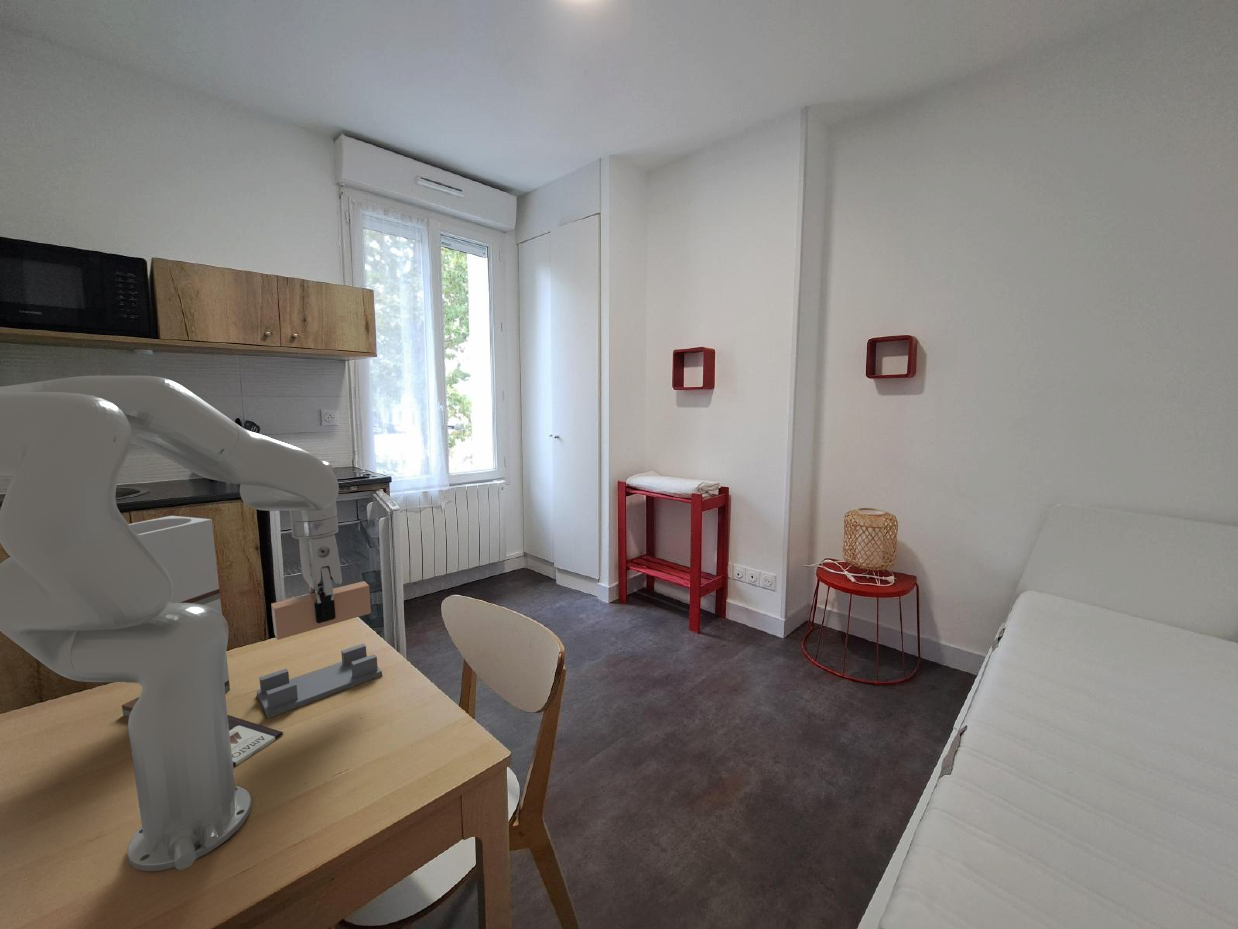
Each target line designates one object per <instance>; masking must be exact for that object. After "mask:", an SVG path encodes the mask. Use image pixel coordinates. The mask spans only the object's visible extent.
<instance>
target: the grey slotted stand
mask: <svg viewBox="0 0 1238 929" xmlns="http://www.w3.org/2000/svg"><path fill="white" fill-rule="evenodd" d="M366 645H367V644H366ZM366 645H365V643H361V644H358V645H355V646H352V647H349V648H346V649H343V650H341V651H340V653H341V661H340V662H337V663H334V664H331V665H328V666H326V667H322V668H319V669H317V670H314V671H311V672H308V673H304V674H302V675H298V676H295V677H293V678H290V674H289V670H288V668H284V669H281V670H277V671H275V672H272V673H269V674H266V675H265V674H264V675H263V676H259V677H258V678H259V687H260V689H257V690H256V696H257V698H258V700H259V703H260V705H261V707H262V709H263V711H264V713H265V716H266V717H267V719H270V718H273V717H276V716H279V715H280V714H283V713H285V712H288V711H291V710H294V709H297V708H300V707H303V706H304V705H307V704H310V703H313V702H316V701H318V700H321V699H323V698H326V697H329V696H331V695H335V694H336V692H337V693H339V692H342V691H345V690H348V689H350V688H353V687H354V686H357V685H360V684H363V683H365V682H368V681H371V680H374V679H377V678H380V677H381V676H383V670H381V668H380V667H378V666H379V665H378V657H377V655H376V654H375V653H373V654H371V655H367V646H366ZM373 678H374V679H373Z"/></svg>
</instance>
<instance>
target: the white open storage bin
mask: <svg viewBox="0 0 1238 929" xmlns="http://www.w3.org/2000/svg"><path fill="white" fill-rule="evenodd" d="M128 524H129V526H130V527H131V528H132V529H133V530H134V532H135V533H136V534H137V535H138V536H139V537H140V539H141V540H142V541H143V542H144V543H145V544H146V546H147V547H148V548H149V549H150V550H151V552H152V553H153V554H154V555H155V556H156V557H157V559H158V560H159V561H160V562H161V563H162V565H163V566H164V567H165V569H166V570H167V572H168V573H169V575H170V578H171V580H172V583H173V595H172V598H171V601H170V602H169V603H194V604H200V605H205V606H209V607H211V608H213V609H215V610H217V611H218V612H220V613H221V614H222V615H223V612H222V610H223V609H222V603H221V594H220V593H221V591H220V584H219V574H218V573H219V572H218V565H217V563H218V562H217V555H216V554H217V553H216V546H215V536H214V528H213V527H214V526H213V520H212V519H211V518H202V517H201V518H200V517H191V516H181V515H180V516H179V515H178V516H177V515H168V516H162V517H159V518H158V517H157V518H153V519H148V520H142V521H137V522H133V523H128ZM229 677H230V676H229V666H228V657H227V655H226V656H225V667H224V685H225V693H227V692H229V691H230V690H231V688H230V686H231V685H230V678H229ZM226 691H227V692H226ZM139 697H140V696H138V697H136V698H134V699H131V700H130V701H128V702H126V703H123V704H122V705H121V709H122V716H123V715H124V716H125V717H127V716H128V718H129V716H130V713H131V711H132V709H133V707H134V705H135V704H136V702H137V701H138V699H139ZM124 716H123V717H124Z"/></svg>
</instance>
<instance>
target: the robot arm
mask: <svg viewBox="0 0 1238 929" xmlns="http://www.w3.org/2000/svg"><path fill="white" fill-rule="evenodd" d="M132 445H135V446H139V447H143V448H145V449H147V450H150V451H151V452H153V453H155V454H157V455H159V456H161V457H163V458H165V459H166V460H170V461H171V462H174V463H175V464H177V465H179V466H181V467H183V468H185V469H187V470H188V471H190V472H192V473H195V474H196V475H198V476H199V477H203V478H205V479H207V480H208V479H209V480H213V481H217V482H223V483H229V484H236V485H240V486H239V495H240V497H241V500H242V501H243V502H244V504H245V505H247V506H248V507H250V508H252V509H255V510H258V511H267V512H268V511H269V512H270V511H273V512H277V511H280V512H283V511H289V518H290V527H291V528H290V529H291V538H293V539H294V540H295V539H296V540H298V543H299V557H300V566H301V567H300V569H301V574H302V576H303V577H302V578H303V579H304V581H305V582H306V583H307V584H308V587H309V588H308V589H309V591H308V592H309V594H313V593H315V596H316V603H314V604H315V614H316V622H317V623H322V622H326V621H329V620H333V619H335V618H336V615H335V604H334V596H333V589H334V587H333V582H334V583H335V585H341V584H342V583H343V578H342V577H343V576H342V570H341V562H340V554H339V548H338V544H337V540H336V539H337V538H336V534H337V533H338V532H339V520H338V512H337V511H338V508H337V500H336V499H337V498H338V496H339V491H340V490H339V487H340V485H339V482H338V479H337V477H336V474H335V473H334V468H333V465H332V463H330V462H328V461H325V460H321V459H319V457H317V456H315V455H314V454H312V453H310V452H308V451H306V450H304V449H302V448H300V447H297V446H294V445H292V444H288V443H287V442H286V443H285V442H282V441H280V440H277V439H274V438H273V437H272V438H271V437H269V436H267V435H263V434H261V433H257V432H253V431H250V430H248V429H246V428H244V427H243V426H240V425H239V424H238V423H236V422H235V421H233V419H230V418H229V417H228V416H226V415H225V414H224V413H222V412H221V411H220V410H218V409H216V408H215V407H214V406H212V405H210V404H209V403H208V402H207V401H205V400H203V399H202V398H201V397H199V396H198V395H196V394H195V393H193V392H192V391H191V390H189V389H188V388H186V387H185V386H183V385H182V384H180V383H178V382H176V381H173V380H171V379H168V378H165V377H160V376H153V375H83V376H81V375H80V376H79V375H78V376H72V377H71V376H70V377H63V378H55V379H50V380H49V379H48V380H41V381H35V382H27V383H20V384H12V385H11V384H10V385H4V386H3V385H2V386H0V476H2V477H5V476H7V477H8V476H9V477H10V476H11V477H12V478H11V479H10V480H11V481H10V483H9V485H8V487H7V489H6V493H5V496H4V498H3V501H2V504H1V507H0V545H1V546H2V547H3V549H4V551H5V552H6V553H7V554H8V556H9V557H8V558H6V559H4V560H3V561H2V562H0V632H1V633H2V634H3V635H5V636H6V637H7V638H9V640H11V641H12V642H14V643H15V644H17V646H19V647H20V648H22V649H23V650H24V651H26V652H27V653H28V654H30V655H31V656H32V657H33V658H34V659H36V660H37V661H39V662H40V663H42V664H43V665H44V666H46V667H47V668H48V669H50V670H51V671H53V672H54V673H56V674H58V675H60V676H62V677H64V678H67V679H69V680H73V681H75V682H76V681H77V682H88V683H90V682H91V683H129V684H130V683H131V684H133V683H135V684H139V685H140V686H141V688H142V689H141V690H142V691H141V693H140V696H138V697H139V699H138V701H137V702H136V704H135V705H134V707H133V709H132V711H131V713H130V716H129V717H128V721H127V722H128V724H127V726H128V728H127V730H128V737H129V738H128V739H129V742H130V744H129V745H130V749H131V757H132V762H133V763H132V766H133V770H134V771H133V772H134V779H135V785H136V793H137V801H138V808H139V816H140V822H141V826H140V827H139V829H138V830H137V831H136V832H134V835H133V836H132V838H131V839H130V841H129V842H128V843H129V844H128V847H127V858H128V863H129V864H130V866H131V867H132V868H134V869H136V870H139V871H141V872H142V871H144V872H158V871H160V872H161V871H165V870H169V869H174V868H176V869H177V870H178V871H179V870H185V869H187V868H189V867H190V866H192V865H193V863H194V862H195V861H196V860H197V859H198V858H200V857H203V856H204V855H206V854H209V853H210V852H211V851H213V850H214V849H216V848H217V847H219V846H221V845H222V844H223V843H224V842H226V841H227V840H228V839H230V838H231V837H232V836H233V835H234V834H235V833H236V832H237V831H238V830H239V829H240V828H241V827H242V826H243V824H244V823H245V822H246V820H247V819H248V818H249V816H250V812H251V811H252V796H251V793H250V792H249V791H248V790H247V789H245V788H244V787H241V786H239V785H238V786H237V785H236V781H235V770H234V767H233V761H232V752H231V742H230V733H229V724H228V715H229V714H228V707H227V698H226V692H225V685H224V667H225V656H227V648H228V642H229V626H228V621H227V619H226V618H225V616H224V615H223V613H222V614H221V613H220V612H218V611H217V610H215V609H213V608H211V607H209V606H205V605H200V604H194V603H169V602H170V601H171V598H172V595H173V583H172V580H171V578H170V575H169V573H168V572H167V570H166V569H165V567H164V566H163V565H162V563H161V562H160V561H159V560H158V559H157V557H156V556H155V555H154V554H153V553H152V552H151V550H150V549H149V548H148V547H147V546H146V544H145V543H144V542H143V541H142V540H141V539H140V537H139V536H138V535H137V534H136V533H135V532H134V530H133V529H132V528H131V527H130V526H129V524H130V523H128V522H127V520H126V519H125V518H124V516H123V515H122V513H121V511H120V510H119V508H118V506H117V501H116V492H117V486H118V483H119V478H120V475H121V472H122V470H123V467H124V464H125V462H126V459H127V458H128V455H129V453H130V450H131V446H132ZM322 591H323V592H322ZM320 592H321V593H320Z"/></svg>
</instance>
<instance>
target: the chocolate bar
mask: <svg viewBox="0 0 1238 929" xmlns="http://www.w3.org/2000/svg"><path fill="white" fill-rule="evenodd" d="M227 715H228V724H229V733H230V742H231V752H232V761H233V768H235V767H236V766H238V765H239V764H241V763H242V762H244V761H245V760H247V759H248V758H249V757H251V756H253V755H255V754H256V753H257V752H259V751H261V750H262V749H263V748H265V747H266V746H268V745H270V744H272V742H274V741H276V740H277V739H279V738H280V737H282V736H283V735H284V734H283V731H280V730H278V729H274V728H271V727H269V726H265V725H261V724H258V723H255V722H251V721H249V720H245V719H243V718H239V717H236V716H233V715H229V714H227Z"/></svg>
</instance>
